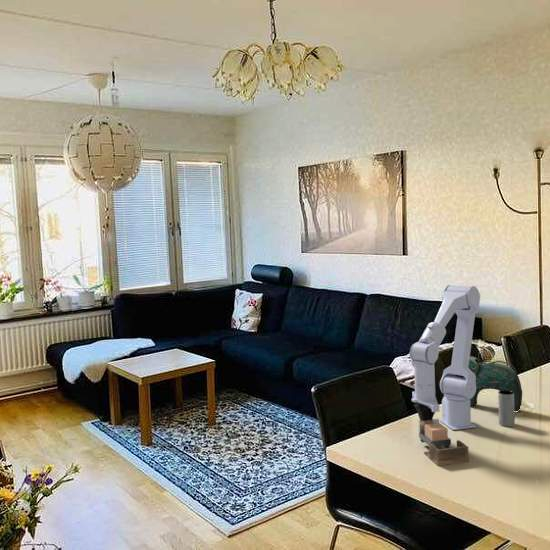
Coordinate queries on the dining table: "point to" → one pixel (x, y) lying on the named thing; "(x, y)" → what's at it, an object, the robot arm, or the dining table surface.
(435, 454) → the dock
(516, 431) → the dining table surface
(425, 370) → the robot arm
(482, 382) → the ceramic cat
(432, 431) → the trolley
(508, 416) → the grey cylinder
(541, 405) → the dining table surface
